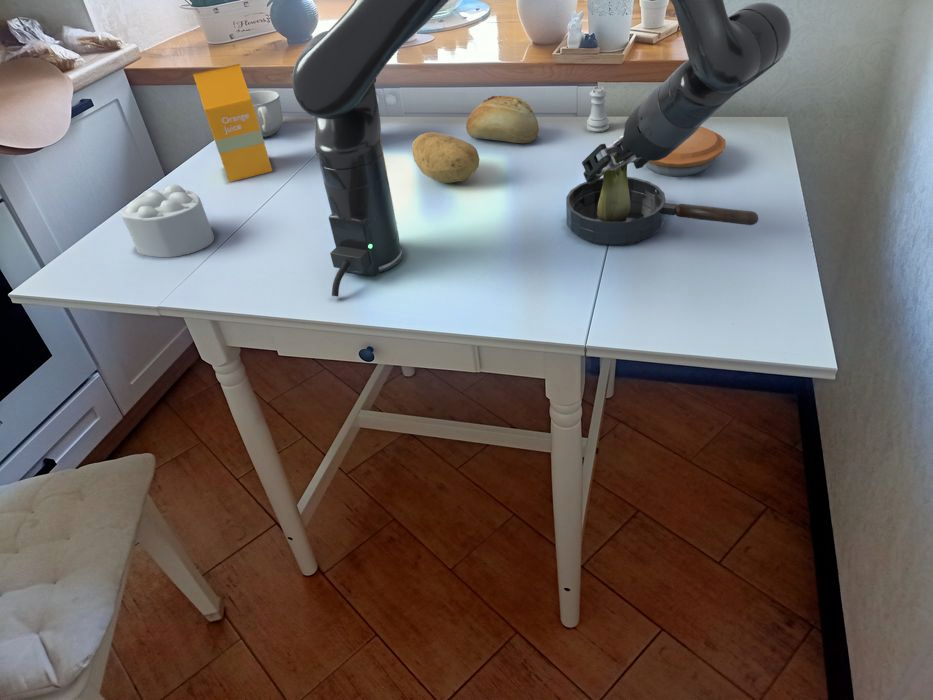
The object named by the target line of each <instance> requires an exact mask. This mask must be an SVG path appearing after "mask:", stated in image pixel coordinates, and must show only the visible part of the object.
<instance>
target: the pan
mask: <svg viewBox="0 0 933 700" xmlns="http://www.w3.org/2000/svg"><path fill="white" fill-rule="evenodd" d="M627 179H628V188H629V195H630V212H629V215H628V217H627V218H626V219H624V220H623V221H603V220H600V219H599V218H598V216H597V212H598V210H597V208H598V202H599V198H600V195H601V190H602V185H603V177H600V178H599V179H598V180H597V181H596V182H595V183H593V184H589V183H588V182H587V181H584V182H582V183H580V184H578V185H576V186H575V187H573V188H572V189H570V191H569V193H568V194H567V195H566V199H565V207H566V208H565V210H566V215H565V216H566V226H567V227H568V229H569V230H570V232H571V233H573V234H575V235H576V236H577V237H579V238H580V239H582V240H584V241H587V242H590V243H593V244H596V245H597V244H598V245H605V246H622V245H623V246H624V245H631V244H634V243H638V242H642V241H644V240H647V239H648V238H649V237H650V238H651V236H653V235H655V234H656V233H657V232H658V231H660V230H661V228H662V227H663V224H664V222H665V216H666V215H664V214H662V212H663V206H664V204H665V203H667V199H666V194H665V192H664V191H663V190H662V189H661V188H660V187H659V186H658V185H657V184H655V183H652V182H650V181H649V180H645V179H641V178H638V177H630V176H627Z"/></svg>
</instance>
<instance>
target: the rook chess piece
mask: <svg viewBox="0 0 933 700" xmlns="http://www.w3.org/2000/svg"><path fill="white" fill-rule="evenodd" d="M597 87H598V88H597ZM607 94H608V92H607V91H606V88H605V86H601V85H598V86H593V87H592V88H591V91H590V92H589V96H590V97H591V100H590V103H591V107H590V108H591V109H590V114H589V116H588V118H587V120H586V124H587V125H586V129H587V130H588V131H589V132H591V133H598V134H599V133H603V132H606V131H607V130H608V129H609V128H610V125H609V122H610V120H609V118H608V115H607V114H606V108H605V103H606V99H605V97H606V95H607Z"/></svg>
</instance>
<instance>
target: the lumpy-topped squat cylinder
mask: <svg viewBox="0 0 933 700" xmlns="http://www.w3.org/2000/svg"><path fill="white" fill-rule="evenodd" d="M120 216H121V218H122V221H123V223H124V225H125V227H126V229H127V232H128V233H129V236H130V238H131V240H132V242H133V245H134V246H135V249H136V251H137V253H138V254H140V255H142V256H148V257H154V258H155V257H157V258H174V257H181V256H185V255H189V254H192V253H196V252H198V251H200V250H203V249H205V248H207V247H209V246H210V245H211V244H212V243H213V242H214V239H215V235H214V232H213V229H212V227H211V224H210V221H209V219H208V217H207V213H206V211H205V209H204V205H203V203H202V201H201V198H200V196H199V195H197V194H196V193H195V192H193V191H191V190H187V189H184V188H183V187H182V186H180V185H178V184H170V185H167V186H166V187H165V188H161V189H160V188H159V189H147V190H145V191H143V192H142V193H141V194H140V195H139V196H137V197H136V198H135V199H133V200H132V201H130V202H129V203H128V204H127V206H125V207H124V208H122V209H121V211H120Z"/></svg>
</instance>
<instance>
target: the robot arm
mask: <svg viewBox="0 0 933 700" xmlns="http://www.w3.org/2000/svg"><path fill="white" fill-rule="evenodd" d="M449 1H450V0H354V1H353V3H352V4H351V5H350V6H349V7H348V9H347V10H346V12H345V13H344V14H343V15H342V16H341V17H340V18H339V19H338V20H337V21H336V22H335V23H334V24H333V25H332V27H331V28H329V30H325V31H321V32H320V33H318V34H317V35H314V37H312V38H311V39H310V40H309V42H308V43H307V44H306V45H305V47H304V49H303V50H302V51H301V53H300V54H299V56H298V57H297V59H296V61H295V64H294V66H293V71H292V76H291V77H292V78H291V79H292V90H293V94H294V97H295V101H296V102H297V104H298V105H299V106H300V108H301V109H302V110H303V111H304V112H306V114H308V115H310V116H312V117H314V126H315V131H314V133H315V134H314V135H315V136H314V149H315V153H316V157H317V161H318V165H319V169H320V173H321V175H322V176H321V177H322V181H323V185H324V189H325V192H326V197H327V200H328V205H329V209H330V212H331V214H330V215H329V216H328V221H329V225H330V229H331V233H332V238H333V242H334V245H335V248H333V250H332V251H330V254H329V255H330V259H331V262H332V266H333V268H335V269H338V271H337V273H336V275H335V277H334V279H333V282H332V288H331V296H332V297H339V293H340V285H341V282H342V280H343V277H344V275H345V274H346V273H351V274H352V273H353V274H357V275H363V276H370V277H377V276H378V275H379V274H380V273H383V272H386V271H387V270H390V269H392V268H394V267H395V266H397V265H398V264H399V263H400V262H401V260H402V259H403V256H404V252H403V247H402V245H401V241H400V239H401V238H400V235H399V230H398V224H397V218H396V214H395V209H394V203H393V198H392V197H393V196H392V192H391V187H390V182H389V176H388V171H387V165H386V160H385V159H386V158H385V155H384V149H383V143H382V126H381V124H382V123H381V115H380V108H379V103H378V96H377V91H376V83H374V80H375V79H376V80H377V78H378V76H379V75H380V73H381V72H382V70H383V69H384V67H386V65H387V64H388V63H389V62H390V60H392V58H393V56H395V54H396V53H397V52H398V50H400V49H401V47H402V46H404V44H405V43H407V42H408V41H409V40H410V39H411V38H412V37H413V36H414V35H415V34H417V32H418V31H420V30H421V29H422V28H423V27H424V26H425V25H426V24H427V23H428V22H429V21H430V20H431V19H432V18H433V17H434V16H435V15H436V14H437V13H438V12H439V11H441V9H442V8H443V7H444V6H445V5H446V4H447V3H448V2H449ZM669 1H670V2H671V4H672V6H673V8H674V12H675V16H676V21H677V23H678V28H679V30H680V33H681V37H682V40H683V43H684V47H685V51H686V55H687V57H688V59H687V60H686V61H684V62H683V63H682V64H681V65H679V66H678V67H677V68H676V69H675V70H674V71H673V72H672V73H671V74H670V76H669V77H668V78H667V79H666V80H664V82H663V83H661V84H659V85H658V86H657V87H655V89H654V90H653V91H652V92H651V93H650V94H648V96H647V97H645V99H644V100H643V101H642V102H641V103H640V104H639V105H638V106H637V107H636V108H635V110H633V112H632V113H631V114H630V115H629V116H628V118H627V119H626V122H625V125H624V129H623V134H622V135H621V136H619V137H618V139H617V140H616V141H613V142H612V143H611V144H609V145H608V146H607V144H606V143H601V144H599V145H598V146H597V147H596V148H594V150H593V151H592V152H591V153H589V155H587V156H586V157H585V159H583V160H582V161H581V165H582V167H583V168H584V172H583V176H584V179H585V182H588V183H589V184H593V183H595V182H596V181H597V180H598V179H599V178H602V177H603V174H605V173H606V172H608V171H610V170H613V171H617V170H619V169H620V168H622V167H624V166H625V165H627V166H628V165H629V164H632V163H633V165H634V167H635V169H636V170H638V169H641V168H643V167H644V166H646V165H645V164H646V163H647V162H649V161H656V160H661V159H663V158H665V157H667V156H668V155H669V154H670V153H672V152H673V151H674V150H675V149H676V148H677V147H679V146H680V145H681V144H682V143H683V142H684V141H686V140H687V139H688V138H689V137H690V136H692V135H693V134H694V133H695V132H696V131H697V129H698V128H699V127H700V126H701V127H702V125H703V124H704V123H705V122H706V121H707V120H709V119H710V118H711V117H712V116H713V115H715V114H716V113H717V112H718V111H719V110H720V109H721V107H723V106H724V105H725V103H726V102H728V101H729V100H730V99H731V98H732V97H733V96H734V95H736V94H737V93H739V92H740V91H741V90H743V89H744V88H746V87H747V86H748V85H750V84H751V83H752V82H754V81H755V80H756V79H758V78H759V77H761V76H762V75H763V74H765V73H766V72H767V71H769V70H770V69H771V68H772V67H774V66H775V65H777V63H778V62H780V60H782V58H783V57H784V55H785V54H786V52H787V50H788V48H789V45H790V42H791V38H792V26H791V21H790V19H789V17H788V15H787V13H786V12H785V11H784V9H782V8H781V7H779V6H778V5H776V4H774V3H771V2H765V1H764V2H763V1H762V2H760V1H759V2H754V3H751V4H748V5H745V6H743V7H741V8H740V9H738V10H736V11H735V12H734V13H732V14H731V15H728V12H727V9H726V5H725V0H669ZM614 155H617V157H618V158H619V159H620V161H622V162H620V163H618V164H616V161H615V159H614V157H613V156H614ZM607 164H608V166H607V167H605V166H606V165H607ZM604 167H605V168H604Z"/></svg>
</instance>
